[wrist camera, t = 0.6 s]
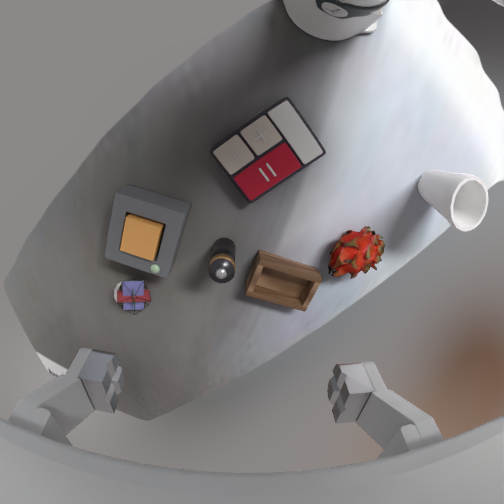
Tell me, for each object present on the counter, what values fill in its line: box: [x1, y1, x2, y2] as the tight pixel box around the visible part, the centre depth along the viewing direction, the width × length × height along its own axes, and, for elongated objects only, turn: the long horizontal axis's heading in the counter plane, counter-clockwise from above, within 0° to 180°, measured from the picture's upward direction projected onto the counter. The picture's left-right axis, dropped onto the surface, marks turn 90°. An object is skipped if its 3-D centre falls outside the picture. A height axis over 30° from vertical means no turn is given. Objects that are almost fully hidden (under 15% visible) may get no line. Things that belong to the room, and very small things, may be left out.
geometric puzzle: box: [114, 278, 152, 315], centre depth 54 cm, size 7×7×8 cm
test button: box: [120, 213, 165, 261], centre depth 47 cm, size 6×6×3 cm
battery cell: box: [209, 238, 235, 283], centre depth 50 cm, size 4×4×10 cm
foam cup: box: [418, 170, 488, 231], centre depth 44 cm, size 10×9×13 cm
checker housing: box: [104, 184, 191, 279], centre depth 49 cm, size 12×12×6 cm
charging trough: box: [245, 250, 322, 311], centre depth 55 cm, size 8×12×4 cm, turn 70°
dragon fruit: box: [328, 227, 385, 278], centre depth 52 cm, size 8×8×12 cm
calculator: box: [210, 97, 326, 203], centre depth 46 cm, size 11×4×15 cm
